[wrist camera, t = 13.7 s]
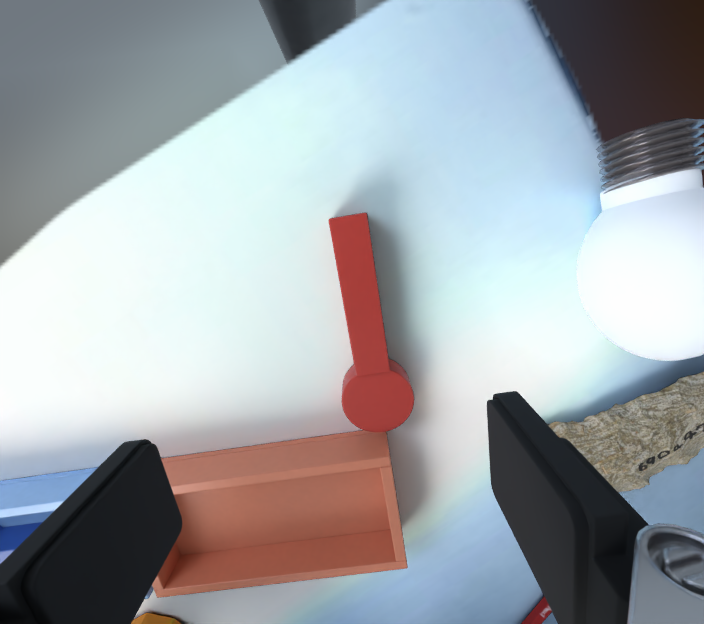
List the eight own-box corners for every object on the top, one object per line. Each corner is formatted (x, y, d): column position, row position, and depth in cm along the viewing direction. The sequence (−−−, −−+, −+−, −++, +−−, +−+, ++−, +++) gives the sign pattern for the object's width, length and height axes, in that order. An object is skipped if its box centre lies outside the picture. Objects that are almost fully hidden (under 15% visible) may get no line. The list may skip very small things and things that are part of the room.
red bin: (140, 460, 24) (112, 494, 22) (385, 426, 24) (389, 456, 21) (178, 556, 27) (157, 598, 24) (402, 529, 26) (407, 568, 23)
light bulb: (799, 86, 14) (822, 358, 14) (641, 154, 20) (664, 338, 21) (640, 109, 13) (673, 390, 14) (533, 172, 20) (559, 359, 21)
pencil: (614, 521, 26) (625, 533, 25) (512, 640, 29) (519, 655, 28) (605, 518, 26) (616, 530, 25) (504, 637, 29) (510, 652, 28)
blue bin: (-95, 493, 25) (-153, 529, 23) (132, 462, 25) (103, 495, 22) (-39, 583, 28) (-84, 626, 25) (170, 557, 27) (148, 599, 24)
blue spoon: (135, 545, 26) (115, 574, 24) (-30, 566, 27) (-63, 596, 25) (114, 497, 25) (92, 524, 23) (-58, 520, 25) (-95, 548, 23)
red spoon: (386, 208, 20) (390, 208, 18) (413, 411, 23) (419, 431, 21) (310, 221, 20) (305, 222, 18) (348, 420, 24) (348, 441, 21)
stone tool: (560, 514, 25) (774, 415, 23) (575, 537, 23) (811, 431, 21) (507, 433, 24) (726, 319, 22) (519, 450, 22) (760, 327, 20)
